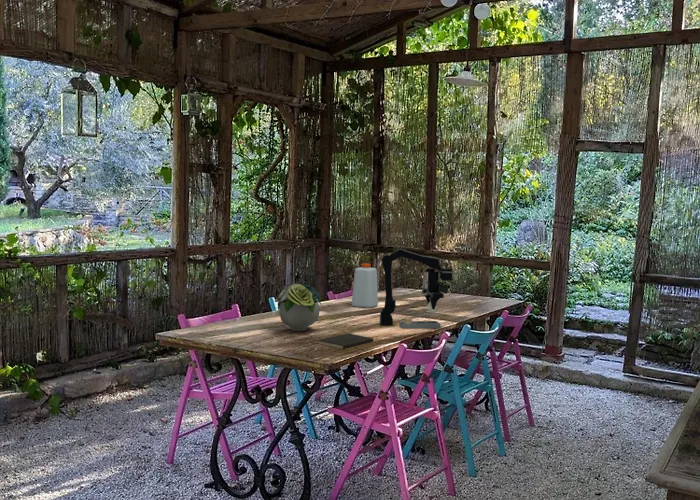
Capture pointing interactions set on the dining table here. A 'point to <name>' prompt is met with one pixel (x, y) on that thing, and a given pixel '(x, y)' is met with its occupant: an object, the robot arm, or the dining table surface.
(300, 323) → the flower arrangement
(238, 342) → the dining table surface
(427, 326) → the grey long rectangular tray
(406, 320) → the brown egg
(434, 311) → the cream egg
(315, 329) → the dining table surface
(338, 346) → the hardcover book
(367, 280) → the plastic bottle
